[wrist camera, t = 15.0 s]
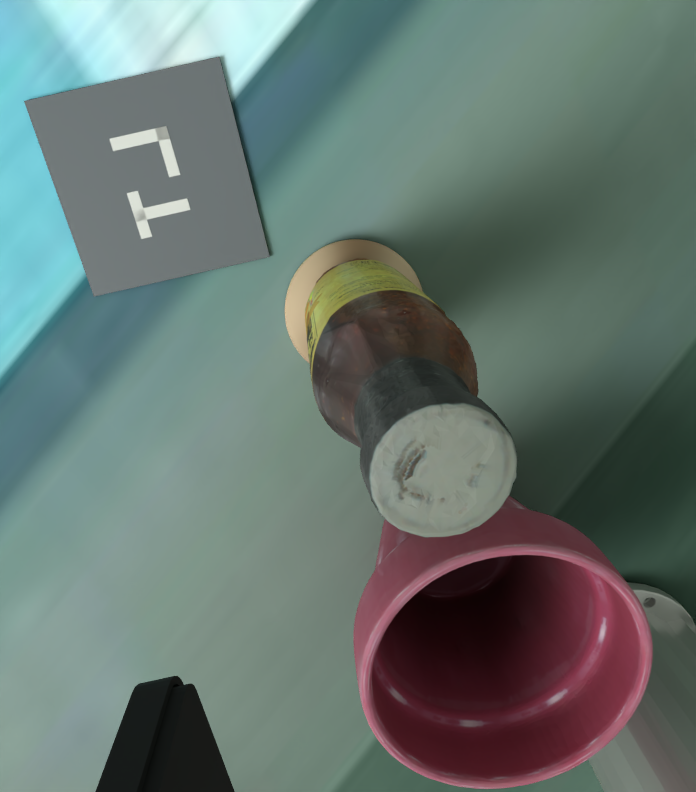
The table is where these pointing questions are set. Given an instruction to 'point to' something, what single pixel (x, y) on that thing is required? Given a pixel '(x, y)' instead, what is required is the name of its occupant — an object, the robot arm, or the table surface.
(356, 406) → the sauce bottle
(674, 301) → the table surface
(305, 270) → the coaster
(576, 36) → the table surface
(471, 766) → the plant pot
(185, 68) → the gray card
